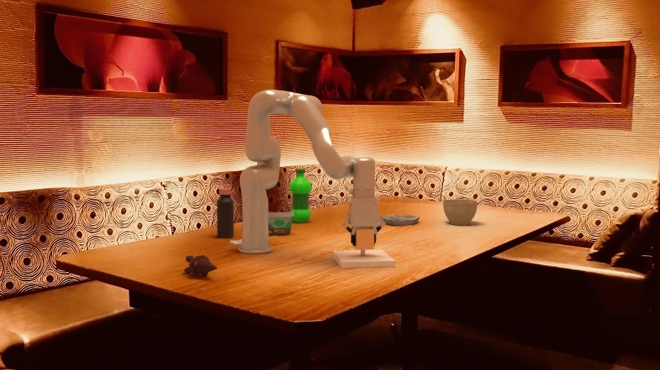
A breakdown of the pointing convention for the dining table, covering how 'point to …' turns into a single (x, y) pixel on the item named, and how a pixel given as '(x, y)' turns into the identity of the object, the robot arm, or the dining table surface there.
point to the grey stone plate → (400, 219)
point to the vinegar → (225, 214)
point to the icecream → (199, 266)
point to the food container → (280, 223)
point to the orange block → (364, 238)
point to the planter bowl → (460, 211)
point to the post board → (363, 258)
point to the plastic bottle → (300, 197)
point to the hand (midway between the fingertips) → (363, 244)
